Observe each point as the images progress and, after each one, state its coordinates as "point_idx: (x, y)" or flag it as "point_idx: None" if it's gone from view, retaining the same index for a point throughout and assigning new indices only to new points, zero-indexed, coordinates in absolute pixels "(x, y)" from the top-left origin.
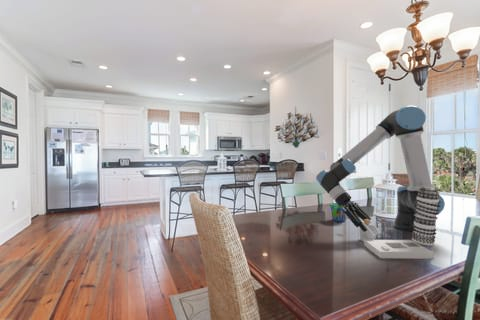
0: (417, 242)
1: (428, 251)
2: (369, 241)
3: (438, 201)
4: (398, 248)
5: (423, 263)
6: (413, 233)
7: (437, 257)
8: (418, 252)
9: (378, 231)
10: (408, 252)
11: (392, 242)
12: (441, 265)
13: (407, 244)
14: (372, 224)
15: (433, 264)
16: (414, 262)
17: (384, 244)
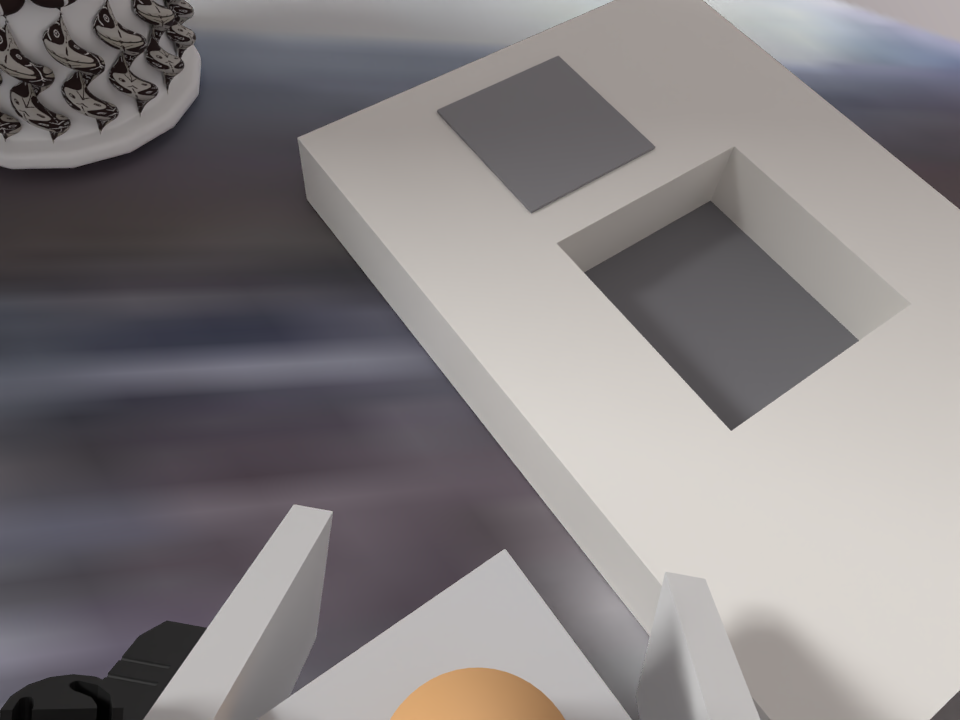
0: (174, 117)
1: (685, 8)
2: (866, 671)
3: None
4: (850, 245)
5: (877, 110)
6: (73, 57)
7: None
8: (795, 81)
9: (325, 537)
10: (887, 158)
11: (614, 325)
12: (797, 9)
13: (580, 161)
14: (440, 604)
15: (828, 51)
16: (924, 169)
17: (825, 415)
